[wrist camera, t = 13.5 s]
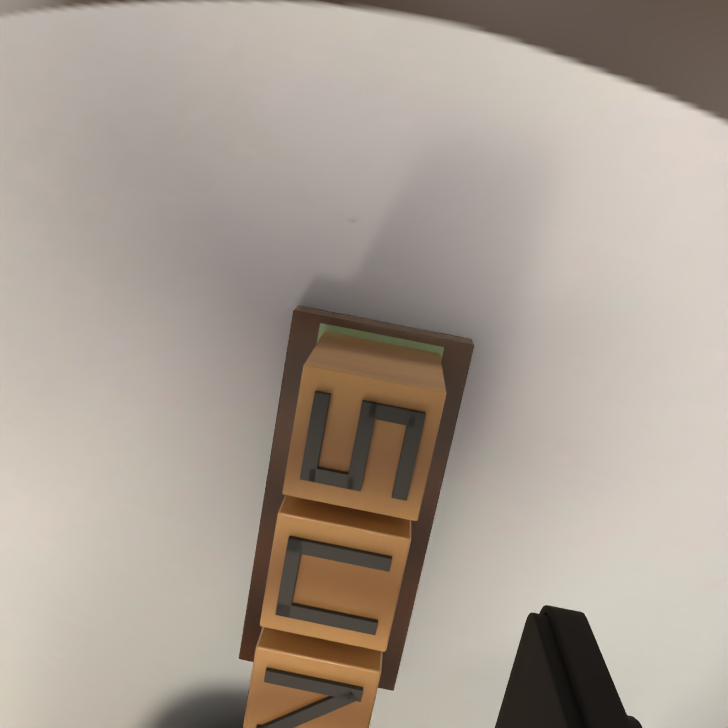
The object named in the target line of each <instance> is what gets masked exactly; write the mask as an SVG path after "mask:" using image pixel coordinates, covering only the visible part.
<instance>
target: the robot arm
mask: <svg viewBox="0 0 728 728" xmlns="http://www.w3.org/2000/svg"><path fill="white" fill-rule="evenodd" d="M495 728H642V726H641V724H640V723H639V721H638V720H636V719H635V718H634V717H633V716H628V715H627V714H626V712H625V710H624V707H623V705H622V702H621V700H620V697H619V695H618V693H617V690H616V688H615V685H614V683H613V681H612V678H611V676H610V673H609V671H608V668H607V666H606V664H605V661H604V659H603V656H602V654H601V652H600V649H599V647H598V644H597V642H596V639H595V637H594V635H593V632H592V630H591V627H590V625H589V623H588V620H587V618H586V616H585V614H584V613H582V612H579V611H573V610H568V609H563V608H558V607H553V606H548V605H546V606H544V607H543V608H542V610H541V611H540V614H537V613H530V614H529V615H528V617H527V620H526V623H525V626H524V630H523V633H522V637H521V640H520V643H519V647H518V650H517V654H516V657H515V661H514V664H513V667H512V671H511V674H510V678H509V681H508V685H507V688H506V691H505V695H504V698H503V702H502V705H501V709H500V712H499V715H498V719H497V722H496V726H495Z"/></svg>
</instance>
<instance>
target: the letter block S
mask: <svg viewBox="0 0 728 728" xmlns="http://www.w3.org/2000/svg"><path fill="white" fill-rule="evenodd" d="M445 398H446V388H445V382H444V376H443V369H442V363H441V357H440V354H439V353H434V352H429V351H423V350H418V349H413V348H408V347H403V346H398V345H393V344H388V343H383V342H377V341H372V340H367V339H362V338H357V337H352V336H347V335H342V334H337V333H331V332H326V331H325V332H324V333H323V335H322V336H321V338H320V339H319V341H318V343H317V344H316V346H315V348H314V349H313V351H312V352H311V354H310V356H309V357H308V359H307V361H306V362H305V364H304V365H303V371H302V377H301V383H300V389H299V396H298V402H297V408H296V414H295V420H294V426H293V432H292V438H291V444H290V450H289V456H288V462H287V468H286V474H285V480H284V486H283V492H282V493H283V494H284V495H288V496H293V497H298V498H303V499H308V500H313V501H318V502H323V503H328V504H333V505H338V506H343V507H348V508H353V509H358V510H363V511H368V512H373V513H378V514H383V515H388V516H393V517H398V518H403V519H408V520H413V521H417V520H418V516H419V512H420V508H421V503H422V499H423V494H424V490H425V486H426V481H427V477H428V472H429V468H430V464H431V459H432V455H433V450H434V446H435V442H436V437H437V433H438V428H439V424H440V420H441V415H442V411H443V406H444V402H445Z"/></svg>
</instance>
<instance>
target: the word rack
mask: <svg viewBox="0 0 728 728" xmlns="http://www.w3.org/2000/svg"><path fill="white" fill-rule="evenodd" d="M325 331H326V332H331V333H337V334H342V335H347V336H352V337H357V338H362V339H367V340H372V341H377V342H383V343H388V344H393V345H398V346H403V347H408V348H413V349H418V350H423V351H429V352H434V353H439V354H440V357H441V363H442V369H443V376H444V382H445V388H446V398H445V402H444V406H443V411H442V415H441V420H440V424H439V428H438V433H437V437H436V442H435V446H434V450H433V455H432V459H431V464H430V468H429V472H428V477H427V481H426V486H425V490H424V494H423V499H422V503H421V508H420V512H419V516H418V520H417V521H413V520H408V519H403V518H398V517H393V516H388V515H383V514H378V513H373V512H368V511H363V510H358V509H353V508H348V507H343V506H338V505H333V504H328V503H323V502H318V501H313V500H308V499H303V498H298V497H293V496H288V495H284V494H283V493H282V492H283V486H284V480H285V474H286V468H287V462H288V456H289V450H290V444H291V438H292V432H293V426H294V420H295V414H296V408H297V402H298V396H299V389H300V383H301V377H302V371H303V365H304V364H305V362H306V361H307V359H308V357H309V356H310V354H311V352H312V351H313V349H314V348H315V346H316V344H317V343H318V341H319V339H320V338H321V336H322V335H323V333H324V332H325ZM473 348H474V344H473V341H472V340H471V339H468V338H462V337H457V336H452V335H447V334H442V333H437V332H431V331H426V330H421V329H416V328H411V327H406V326H401V325H395V324H390V323H385V322H380V321H375V320H370V319H364V318H359V317H354V316H349V315H344V314H339V313H334V312H328V311H323V310H318V309H313V308H308V307H303V306H297V307H296V308H295V309H294V311H293V316H292V322H291V329H290V335H289V342H288V348H287V354H286V361H285V367H284V373H283V380H282V386H281V393H280V399H279V405H278V412H277V418H276V424H275V431H274V437H273V444H272V450H271V456H270V463H269V469H268V476H267V482H266V488H265V495H264V501H263V507H262V514H261V520H260V527H259V533H258V539H257V546H256V552H255V558H254V565H253V571H252V578H251V584H250V590H249V597H248V603H247V610H246V616H245V622H244V629H243V635H242V641H241V648H240V654H239V659H242V660H247V661H251V662H253V668H252V674H251V680H250V687H249V693H248V699H247V705H246V711H245V717H244V723H243V728H369V724H370V720H371V715H372V711H373V706H374V702H375V698H376V693H377V689H378V688H383V689H387V690H392V691H393V690H394V686H395V682H396V678H397V674H398V669H399V665H400V661H401V656H402V652H403V648H404V644H405V639H406V635H407V631H408V626H409V622H410V618H411V614H412V609H413V605H414V601H415V596H416V592H417V588H418V584H419V579H420V575H421V571H422V566H423V562H424V558H425V554H426V549H427V545H428V541H429V537H430V532H431V528H432V524H433V519H434V515H435V511H436V507H437V502H438V498H439V494H440V489H441V485H442V481H443V477H444V472H445V468H446V464H447V459H448V455H449V451H450V447H451V442H452V438H453V434H454V429H455V425H456V421H457V417H458V412H459V408H460V404H461V399H462V395H463V391H464V387H465V382H466V378H467V374H468V370H469V365H470V361H471V357H472V352H473Z"/></svg>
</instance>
